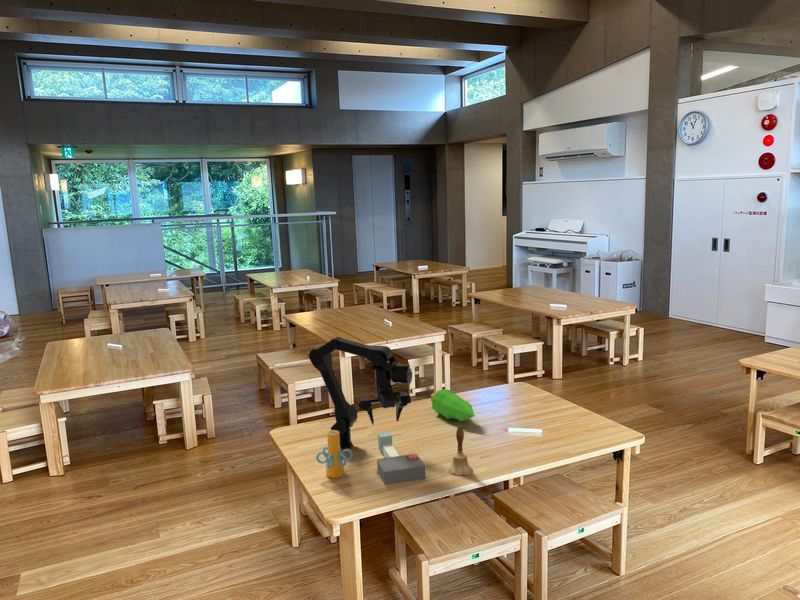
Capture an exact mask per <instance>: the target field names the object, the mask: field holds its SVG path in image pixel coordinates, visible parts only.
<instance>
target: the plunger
mask: <svg viewBox="0 0 800 600" xmlns="http://www.w3.org/2000/svg"><path fill="white" fill-rule="evenodd" d="M415 454H416V453H411V455H409V454H406V455H407V459H408V460H409V461H411V460H417V456H416V455H415Z"/></svg>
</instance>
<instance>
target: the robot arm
mask: <svg viewBox="0 0 800 600" xmlns="http://www.w3.org/2000/svg"><path fill="white" fill-rule="evenodd" d="M334 351H341V352H343V353H347V354H352V355H355V356H358V357H362V358H365V359H367V360H368V361H369V362H370V363H372V366H370V367H369V371H374V373H375V374H374V375H375V383H374V385H375V398H370V397H369V396H367V395H366V396H359V397H358V398H357V406H358V407H359V409H360V410H363V411H365V412H367V415H368V417H369V420H370V422H371V424H372V425H374V422H375V421H374V416H373V415H374V414H373V413H374V412H373V408H372V405H377V404H381V407H382V408H383V409H388V408H395V419H396V422H399V419H400V417H401V413H402V411H403V409H404V408H405V407H406V406H408V404H411V403H412V398H411V395H410V394H409V393H408V392H406V391H402V392H401V391H393V385H392V383H394V384H403V385H404V384H406V385H410V384H412V381H413V371H412V368H411V365H410V364H401V363H399V361H398V360H397V358H396V357H395V356H394V355H393V351H392V349H391V348H390V347H389V346H387V345H368V344H364V343H361V342H358V341H353V340H349V339H345V338H342V337H341V336H336V337H334V338H331V339H330V340H329V341H328V342H327V343H324V344H320V345H319V346H316V347H314V348H312V349H311V350H310V351H309V353H308V359H309V361H310V362H311V364H312V366H313V367H314V368H315V369H316V370H318V372H319V374H320V375H321V377H322V380H323V381H324V382H323V383H324V385H325V387H326V390H327V391H328V394H329V396H330V399H331V402H332V404H333V406H334V417H335V423H334V424H333V425H332V426H331V427H330V431H331V430H337V431H339V438H340V447H341V449H349V448H353V447H354V444H353V441H352V440H351V439H352V437H351V428H352V427H353V426H354V423H356V422H357V419H358V413H359V412H358V411H357V410H356V406H355V404H354V403H352V404H350V403H349V402H348V401H347V399H346V397H345V395H344V392H343V390H342V388H341V385H340V382H339V380H338V378H337V376H336V373H335V371H334V369H333V368H334V367H333V357H332V353H333V352H334Z"/></svg>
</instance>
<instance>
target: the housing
mask: <svg viewBox="0 0 800 600" xmlns="http://www.w3.org/2000/svg"><path fill="white" fill-rule="evenodd" d="M411 454H412V453H411ZM411 454H405V455H404V454H403V455H399V456H396V457H389V458H385V457H384V458H383V457H382V458H377V459H376V467H377V469H376V470H377V474H378V476H379V478H380V479H381V481H382V484H383V485H384V486H387V485H395V484H401V483H407V482H414V481H420V480H421V481H422V480H426V479H427V477H426V476H427V475H426V474H427V473H426V469H427V468H426V464H425V463H424V462H423V461H422V459H421V457H420V456H419V455H418V453H414V454H415V455H416V456H417V460H411V461H409V460H408V459H407V455H411Z"/></svg>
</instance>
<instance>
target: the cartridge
mask: <svg viewBox="0 0 800 600" xmlns="http://www.w3.org/2000/svg"><path fill="white" fill-rule="evenodd" d="M377 437H378V438H377V440H378V441H377V443H378V450H379V452H380V453H382V454H383V456H384V458H389V457H396V456H400V455H399V453H398V452H397V450H396V449H395V446H393V435H392V434H391V432H390V431H387V432H378V433H377Z"/></svg>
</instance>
